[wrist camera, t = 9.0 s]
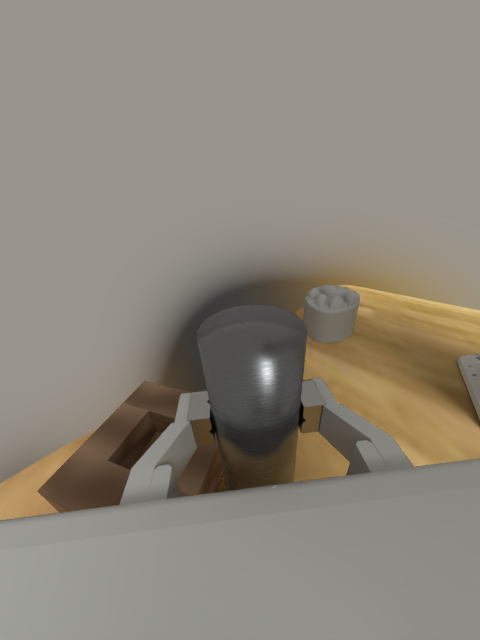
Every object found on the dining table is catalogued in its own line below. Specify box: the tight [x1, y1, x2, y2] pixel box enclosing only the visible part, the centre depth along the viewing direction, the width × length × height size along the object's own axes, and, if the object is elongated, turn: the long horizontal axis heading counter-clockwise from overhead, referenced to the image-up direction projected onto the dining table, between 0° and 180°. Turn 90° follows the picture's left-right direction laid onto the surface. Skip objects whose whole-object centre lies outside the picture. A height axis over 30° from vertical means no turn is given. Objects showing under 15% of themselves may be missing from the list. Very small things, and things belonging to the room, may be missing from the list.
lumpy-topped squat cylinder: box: [303, 285, 360, 343], centre depth 47 cm, size 10×13×9 cm
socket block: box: [37, 381, 224, 513], centre depth 24 cm, size 14×14×5 cm
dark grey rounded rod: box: [197, 305, 307, 491], centre depth 11 cm, size 4×4×13 cm
